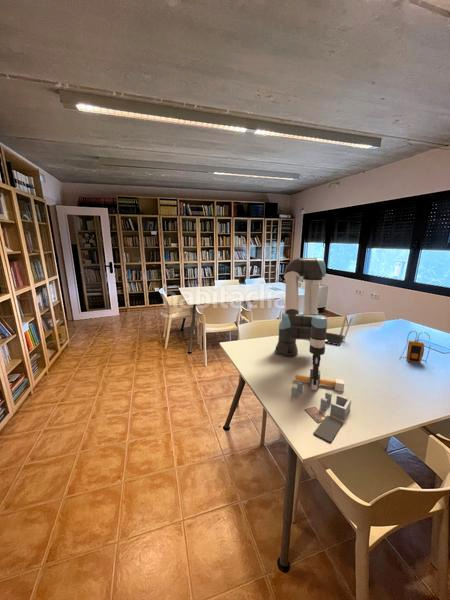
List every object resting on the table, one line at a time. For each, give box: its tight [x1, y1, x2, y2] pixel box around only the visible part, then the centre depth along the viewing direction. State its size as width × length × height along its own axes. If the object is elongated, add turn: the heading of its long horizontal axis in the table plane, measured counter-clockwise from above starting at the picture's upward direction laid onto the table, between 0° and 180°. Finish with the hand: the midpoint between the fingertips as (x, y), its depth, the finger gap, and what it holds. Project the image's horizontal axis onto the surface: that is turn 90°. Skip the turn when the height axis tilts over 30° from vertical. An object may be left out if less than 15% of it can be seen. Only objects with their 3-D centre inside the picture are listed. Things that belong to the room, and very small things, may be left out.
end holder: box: [329, 394, 352, 420], centre depth 109 cm, size 6×9×5 cm, turn 139°
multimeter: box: [399, 330, 431, 364], centre depth 158 cm, size 15×10×20 cm
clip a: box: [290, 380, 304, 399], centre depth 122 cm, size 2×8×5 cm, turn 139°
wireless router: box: [317, 309, 354, 346], centre depth 194 cm, size 34×23×20 cm
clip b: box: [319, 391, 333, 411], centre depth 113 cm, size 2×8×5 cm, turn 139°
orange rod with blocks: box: [294, 368, 345, 392], centre depth 130 cm, size 24×5×7 cm, turn 69°
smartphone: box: [312, 414, 344, 444], centre depth 99 cm, size 7×1×15 cm
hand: (314, 383), depth 131 cm, fingers open, 12 cm apart
